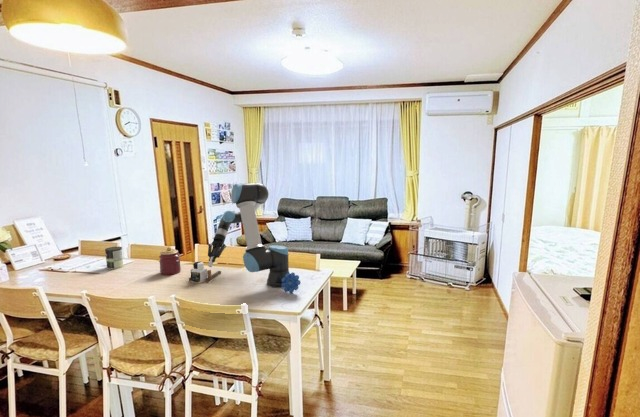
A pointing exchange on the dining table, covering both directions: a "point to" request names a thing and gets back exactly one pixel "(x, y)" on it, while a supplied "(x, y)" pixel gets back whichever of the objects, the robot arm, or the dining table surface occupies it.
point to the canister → (169, 262)
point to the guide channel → (209, 275)
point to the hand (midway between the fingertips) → (209, 266)
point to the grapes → (290, 282)
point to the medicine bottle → (198, 273)
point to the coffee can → (114, 257)
